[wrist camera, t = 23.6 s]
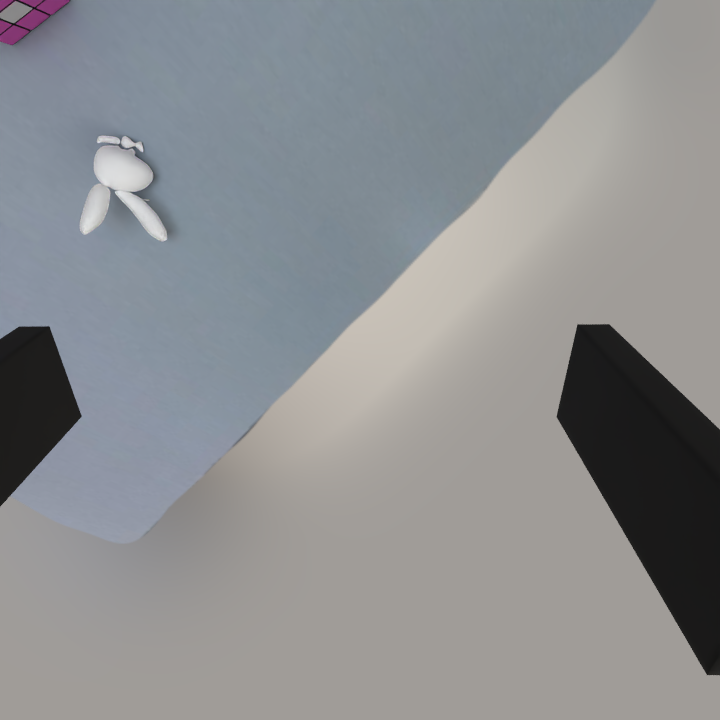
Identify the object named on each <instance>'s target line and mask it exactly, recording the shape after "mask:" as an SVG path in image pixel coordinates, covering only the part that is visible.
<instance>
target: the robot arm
mask: <svg viewBox="0 0 720 720" xmlns="http://www.w3.org/2000/svg"><path fill="white" fill-rule="evenodd" d="M81 417H82V416H81V413H80V411H79V408H78V405H77V402H76V399H75V397H74V394H73V391H72V388H71V385H70V383H69V380H68V377H67V374H66V372H65V369H64V366H63V363H62V360H61V358H60V355H59V352H58V349H57V346H56V344H55V341H54V338H53V335H52V333H51V330H50V327H18V328H16V329H15V330H13V331H12V332H10V333H9V334H7V335H6V336H4V337H3V338H1V339H0V506H1V505H2V504H3V503H4V502H5V501H6V500H7V498H8V497H9V496H10V495H11V494H12V493H13V492H14V491H15V490H16V489H17V487H18V486H19V485H20V484H21V483H22V482H23V481H24V480H25V479H26V477H27V476H28V475H29V474H30V473H31V472H32V471H33V470H34V469H35V468H36V466H37V465H38V464H39V463H40V462H41V461H42V460H43V459H44V458H45V456H46V455H47V454H48V453H49V452H50V451H51V450H52V449H53V448H54V447H55V445H56V444H57V443H58V442H59V441H60V440H61V439H62V438H63V437H64V435H65V434H66V433H67V432H68V431H69V430H70V429H71V428H72V427H73V425H74V424H75V423H76V422H77V421H78V420H79V419H80V418H81ZM557 418H558V420H559V422H560V423H561V425H562V427H563V428H564V430H565V432H566V434H567V435H568V437H569V439H570V440H571V442H572V444H573V446H574V447H575V449H576V451H577V453H578V454H579V456H580V458H581V459H582V461H583V463H584V465H585V466H586V468H587V470H588V471H589V473H590V475H591V477H592V478H593V480H594V482H595V483H596V485H597V487H598V489H599V490H600V492H601V494H602V496H603V497H604V499H605V501H606V502H607V504H608V506H609V508H610V509H611V511H612V513H613V514H614V516H615V518H616V519H617V521H618V523H619V525H620V526H621V528H622V530H623V532H624V533H625V535H626V537H627V538H628V540H629V542H630V543H631V545H632V547H633V549H634V550H635V552H636V553H637V556H638V557H639V559H640V560H641V562H642V564H643V566H644V568H645V569H646V571H647V573H648V574H649V576H650V578H651V579H652V581H653V583H654V585H655V586H656V588H657V590H658V591H659V593H660V595H661V597H662V598H663V600H664V602H665V604H666V605H667V607H668V609H669V610H670V612H671V614H672V615H673V617H674V619H675V621H676V622H677V624H678V626H679V628H680V629H681V631H682V633H683V634H684V636H685V638H686V639H687V641H688V643H689V645H690V646H691V648H692V650H693V652H694V653H695V655H696V657H697V658H698V660H699V662H700V664H701V665H702V667H703V669H704V670H705V672H706V674H707V675H720V429H719V428H717V427H716V426H715V425H714V424H713V423H712V422H711V421H710V420H709V419H708V418H707V417H706V416H705V415H704V414H703V413H702V412H701V411H700V410H698V408H696V407H695V406H694V405H693V404H692V403H691V402H690V401H689V400H688V399H687V398H686V397H685V396H684V395H683V394H682V393H681V392H680V391H679V390H677V388H675V387H674V386H673V385H672V384H671V383H670V382H669V381H668V380H667V379H666V378H665V377H664V376H663V375H662V374H661V373H660V372H659V371H658V370H656V369H655V368H654V367H653V366H652V365H651V364H650V363H649V362H648V361H647V360H646V359H645V358H644V357H643V356H642V355H641V354H640V353H638V352H637V350H636V349H634V348H633V347H632V346H631V345H630V344H629V343H628V342H627V341H626V340H625V339H624V338H623V337H622V336H621V335H620V334H619V333H618V332H617V331H615V329H613V328H612V327H611V326H610V325H609V324H607V325H606V324H605V325H604V324H603V325H577V330H576V334H575V338H574V343H573V347H572V351H571V356H570V360H569V364H568V369H567V373H566V378H565V382H564V386H563V391H562V395H561V400H560V404H559V409H558V413H557Z"/></svg>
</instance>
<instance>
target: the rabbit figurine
mask: <svg viewBox="0 0 720 720" xmlns="http://www.w3.org/2000/svg"><path fill="white" fill-rule="evenodd" d="M97 142H98V143H100V142H106V143H112V144H119V143H120V140H119V139H118V138H117V137H113V136H105V135H101V136H99V137H98V139H97ZM121 144H122V146H123V147H124V148H130V147H133V146H135V147H137V149H138V150H140V151H141V152H143V145H142V142H136V143H134V142H132V141H131V139H130V138H128V137H127V136H124V137H123V138H122V140H121ZM135 154H136V153H135V151H134V150H133V149H132V148H131V149H129V150H125V149H120V147H119V146H118V145H117V146H111V145H106V146H102V147H101V148H99V149H98V151H97V153H96V155H95V158H94V172H95V175H96V177H97V178H98V180H99V181H100V182H101V184H97V185H95V186H93V187H92V189H91V190H90V192H89V195H88V197H87V200H86V203H85V206H84V210H83V212H82V216H81V219H80V230H81V232H82V233H83V234H88V233H89V232H91V231H93V230H94V229H96V228H97V227H98V226H99V225H100V224H101V223H102V222H103V220H104V218H105V216H106V214H107V211H108V207H109V202H110V193H111V192H110V190H109V189H108V188H107V187H110V188H112V189H114V190H117V191H115V193H116V195H117V196H118V197H119V198H120V199H121V201H122V202H123V203H124V204H125V205H126V206H127V207H128V208H129V209H130V210H131V211H132V212H133V214H134V215H135V216H136V217H137V219H138V220H139V221H140V223H141V224H142V226H143V227H144V228H145V229H146V231H147V232H148V233H149V234H150V235H152V236H153V237H154V238H155V239H158V240H159V241H161V242H163V241H165V240H167V231H166V229H165V227H164V226H163V224H162V222H161V220H160V218H159V217H158V215H157V214H156V213H155V212H154V210H153V209H152V208H151V207H150V206H149V205H148V204H147V203H146V202H145V201H149V200H148V199H141V198H140V197H138V196H136V195H134V194H132V193H130V192H136V191H140V190H142V189H144V188H146V187H147V186H148V185H149V184H150V183H151V182H152V180H153V171H152V170H151V169H150V167H149V166H148V165H147V164H146V163H145V162H143V161H142V160H141V159H139V158H137V157H136V156H135ZM144 200H145V201H144Z"/></svg>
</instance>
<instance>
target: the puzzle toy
mask: <svg viewBox="0 0 720 720" xmlns="http://www.w3.org/2000/svg"><path fill="white" fill-rule="evenodd" d="M69 1H70V0H0V41H1V42H4V43H7V44H10V45H13V44H14V43H16V42H17V41H18V40H20V39H21V38H22V37H24V36H25V35H26V34H27V33H29V32H30V30H33V29H34V28H35V27H37V26H38V25H39V24H40V23H42V22H43V21H44V20H46V19H47V18H48V17H49V16H50V14H51V15H52V14H53V13H55V12H56V11H57V10H59V9H60V8H61V7H63V6H64V5H65V4H66V3H68V2H69Z"/></svg>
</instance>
